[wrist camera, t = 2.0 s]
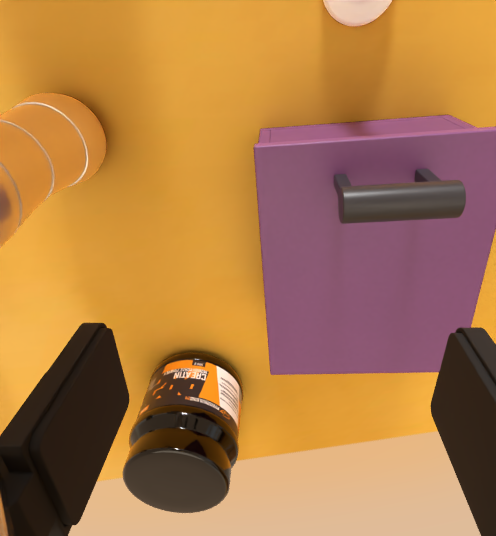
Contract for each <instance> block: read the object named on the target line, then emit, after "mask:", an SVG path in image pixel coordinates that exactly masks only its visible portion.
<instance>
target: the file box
mask: <svg viewBox="0 0 496 536" xmlns="http://www.w3.org/2000/svg"><path fill="white" fill-rule="evenodd" d="M470 128H477V127H475V126H472V125H470V124H468V123H466V122H464V121H461V120H459V119H457V118H455V117H453V116H450V115H440V116H426V117H413V118H399V119H386V120H372V121H359V122H346V123H332V124H319V125H305V126H292V127H278V128H265V129H260V135H259V142H258V143H272V142H286V141H300V140H314V139H328V138H343V137H357V136H371V135H385V134H399V133H413V132H427V131H441V130H455V129H470Z"/></svg>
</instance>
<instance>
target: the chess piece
mask: <svg viewBox="0 0 496 536" xmlns="http://www.w3.org/2000/svg"><path fill="white" fill-rule="evenodd" d="M323 2H324V4H325V7H326V9H327V11H328V12H329V14H330V15H331V16H332V17H333V18H334V19H335V20H337V21H338V22H340V23H342V24H344V25H347V26H362V25H365V24H368V23H370V22H372V21H374V20H375V19H377V18H378V17H379V16H380V15H381V14H382V13H383V12H384V11H385V10H386V9H387V8H388V6H389V5H390V3H391V2H392V0H323Z"/></svg>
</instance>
